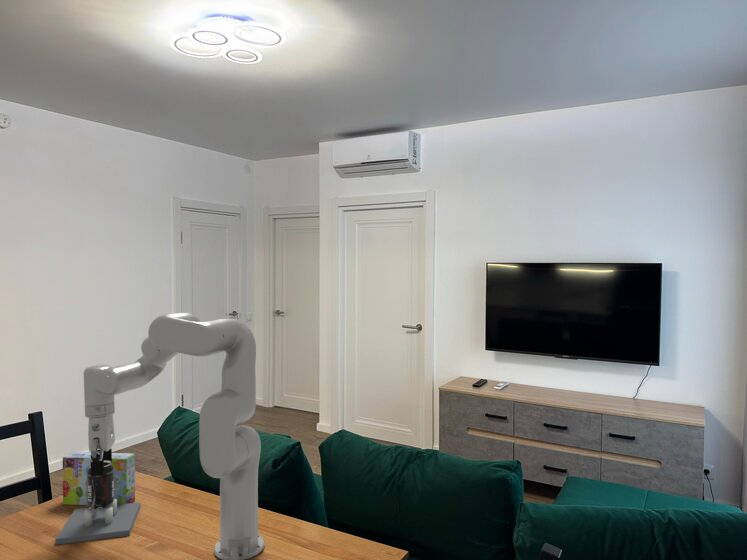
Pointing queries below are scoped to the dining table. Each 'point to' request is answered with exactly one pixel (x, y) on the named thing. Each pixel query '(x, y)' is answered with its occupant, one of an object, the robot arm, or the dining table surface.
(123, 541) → the dining table surface
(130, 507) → the peg stand
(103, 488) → the beverage can
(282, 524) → the dining table surface
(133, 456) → the snack box
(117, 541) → the dining table surface
